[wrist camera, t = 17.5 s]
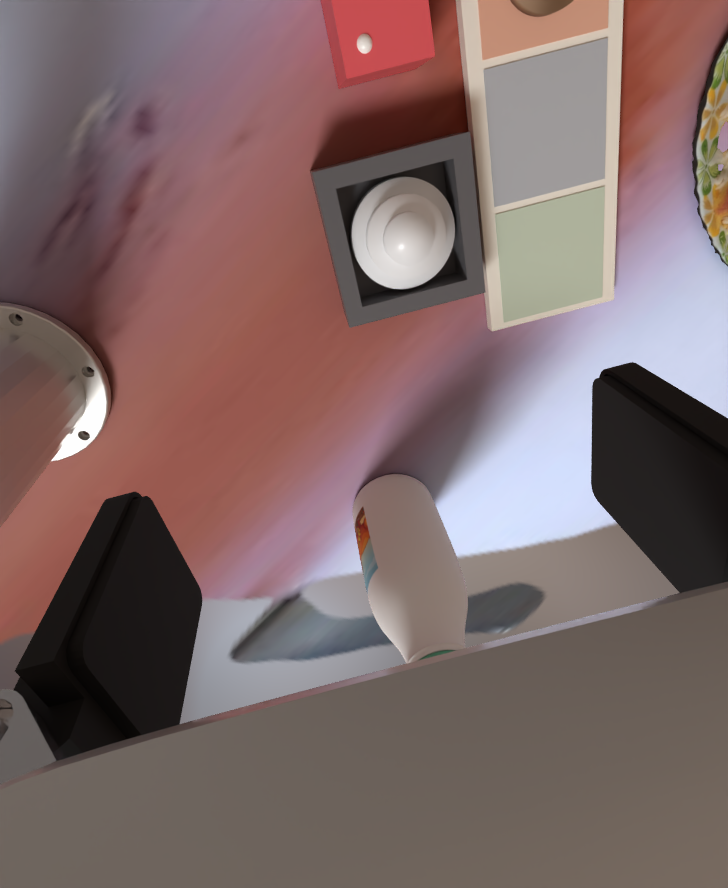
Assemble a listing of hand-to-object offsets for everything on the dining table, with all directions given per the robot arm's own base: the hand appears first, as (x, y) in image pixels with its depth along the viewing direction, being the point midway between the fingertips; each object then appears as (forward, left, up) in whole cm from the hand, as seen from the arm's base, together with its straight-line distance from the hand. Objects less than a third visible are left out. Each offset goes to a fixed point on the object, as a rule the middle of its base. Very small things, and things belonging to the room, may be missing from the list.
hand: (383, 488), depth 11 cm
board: (+17, +4, -30) cm, 35 cm away
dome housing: (+6, 0, -30) cm, 31 cm away
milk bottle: (+1, -24, -31) cm, 39 cm away
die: (+6, +12, -30) cm, 33 cm away
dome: (+6, 0, -29) cm, 29 cm away
